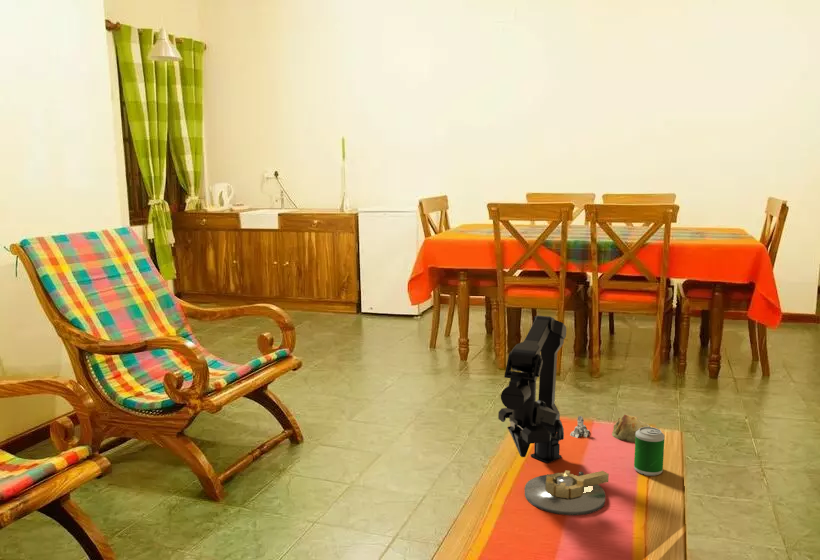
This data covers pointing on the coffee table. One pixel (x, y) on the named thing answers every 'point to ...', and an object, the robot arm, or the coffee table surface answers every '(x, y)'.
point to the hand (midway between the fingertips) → (522, 456)
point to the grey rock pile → (580, 429)
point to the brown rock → (627, 428)
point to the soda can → (649, 451)
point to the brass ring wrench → (578, 483)
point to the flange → (563, 505)
